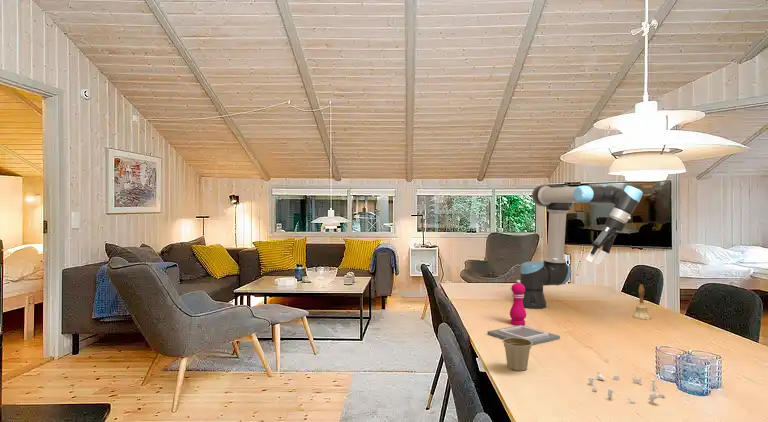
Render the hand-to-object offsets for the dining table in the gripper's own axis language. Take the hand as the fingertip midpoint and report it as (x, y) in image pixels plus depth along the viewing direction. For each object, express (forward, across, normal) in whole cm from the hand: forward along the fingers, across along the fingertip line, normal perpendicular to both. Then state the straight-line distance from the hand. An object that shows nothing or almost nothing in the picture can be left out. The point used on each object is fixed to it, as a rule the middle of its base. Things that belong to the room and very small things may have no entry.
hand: (592, 262), depth 206 cm
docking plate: (+39, -30, +1) cm, 49 cm away
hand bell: (+14, +39, -22) cm, 47 cm away
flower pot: (+40, -66, -13) cm, 78 cm away
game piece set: (+26, -64, -42) cm, 81 cm away
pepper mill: (+40, -12, +11) cm, 43 cm away
